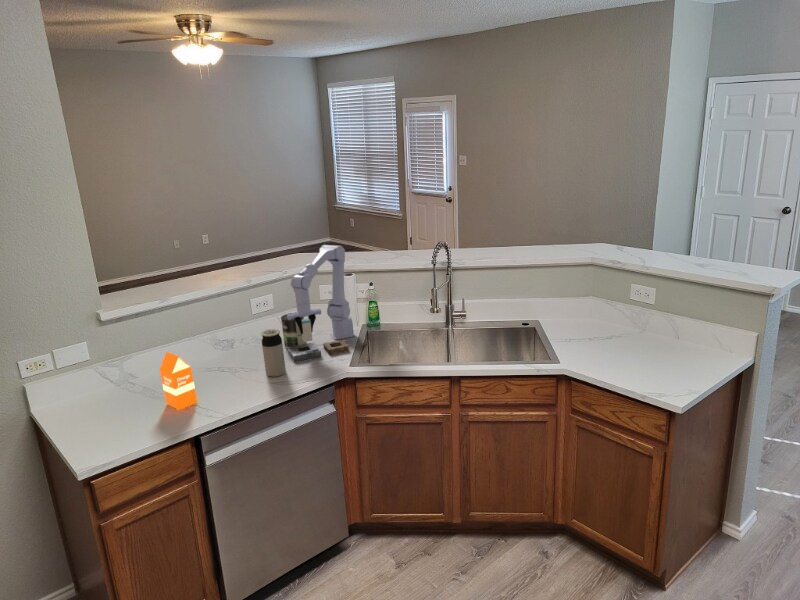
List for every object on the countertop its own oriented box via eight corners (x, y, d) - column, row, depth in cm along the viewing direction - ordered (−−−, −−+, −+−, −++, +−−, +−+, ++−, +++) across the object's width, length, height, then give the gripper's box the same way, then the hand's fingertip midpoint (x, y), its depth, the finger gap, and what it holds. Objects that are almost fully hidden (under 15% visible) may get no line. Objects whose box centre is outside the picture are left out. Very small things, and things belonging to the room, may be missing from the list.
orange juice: (185, 396, 219) (175, 348, 213) (197, 402, 214) (188, 352, 208) (166, 404, 214) (156, 355, 208) (178, 411, 208) (168, 360, 202)
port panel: (314, 348, 259) (314, 341, 258) (321, 357, 249) (320, 350, 248) (288, 353, 255) (287, 346, 254) (294, 362, 245) (293, 355, 244)
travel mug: (275, 378, 230) (269, 336, 225) (262, 374, 235) (256, 333, 229) (290, 371, 236) (284, 330, 231) (277, 367, 241) (271, 327, 235)
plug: (310, 337, 253) (308, 318, 250) (312, 340, 249) (310, 320, 247) (302, 339, 251) (299, 320, 249) (304, 342, 248) (301, 322, 245)
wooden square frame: (342, 344, 261) (342, 339, 261) (348, 351, 253) (348, 345, 253) (323, 348, 258) (323, 343, 258) (329, 355, 250) (328, 349, 250)
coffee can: (287, 350, 259) (283, 321, 254) (282, 343, 268) (278, 315, 264) (309, 346, 263) (306, 317, 258) (303, 339, 272) (300, 311, 268)
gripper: (288, 307, 239) (292, 338, 243) (321, 302, 244) (325, 331, 248) (284, 303, 246) (288, 333, 250) (317, 298, 251) (320, 327, 255)
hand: (306, 332), depth 249 cm, fingers closed on plug, 4 cm apart
